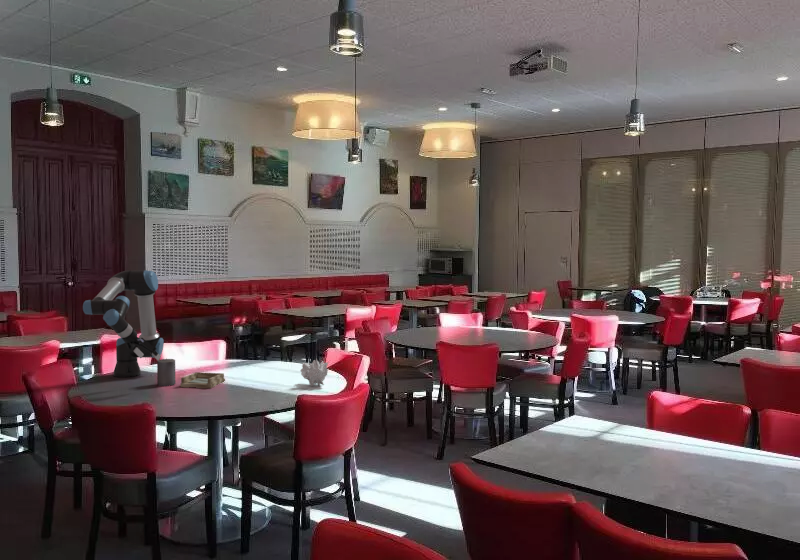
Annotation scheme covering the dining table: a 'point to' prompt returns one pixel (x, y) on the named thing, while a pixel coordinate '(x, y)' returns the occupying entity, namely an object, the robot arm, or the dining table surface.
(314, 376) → the grey spiky coral
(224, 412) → the dining table surface
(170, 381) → the pillar candle
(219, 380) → the wooden tray
